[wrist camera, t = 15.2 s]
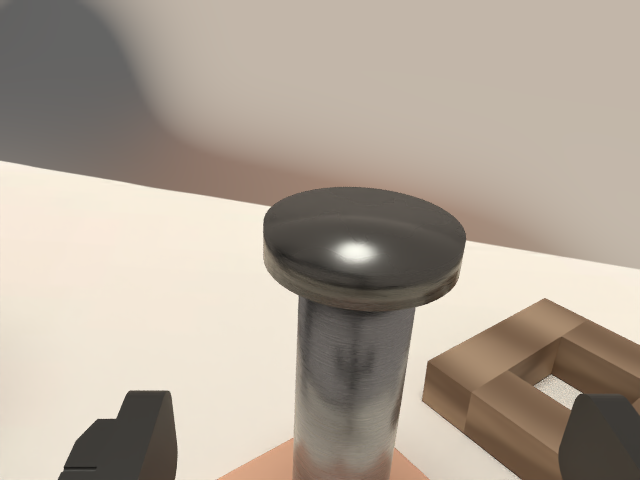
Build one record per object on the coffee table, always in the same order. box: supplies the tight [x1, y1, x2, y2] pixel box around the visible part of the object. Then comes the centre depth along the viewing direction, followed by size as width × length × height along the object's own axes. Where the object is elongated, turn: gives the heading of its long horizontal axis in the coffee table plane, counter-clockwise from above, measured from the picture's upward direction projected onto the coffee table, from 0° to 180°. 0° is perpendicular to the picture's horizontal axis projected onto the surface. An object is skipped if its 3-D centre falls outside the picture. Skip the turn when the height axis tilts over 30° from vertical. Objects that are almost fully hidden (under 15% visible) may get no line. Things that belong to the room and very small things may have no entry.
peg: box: [263, 187, 466, 480], centre depth 21 cm, size 6×6×15 cm
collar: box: [422, 298, 640, 480], centre depth 31 cm, size 12×12×3 cm
